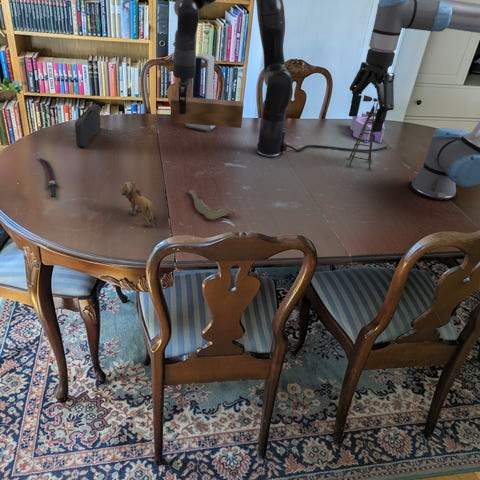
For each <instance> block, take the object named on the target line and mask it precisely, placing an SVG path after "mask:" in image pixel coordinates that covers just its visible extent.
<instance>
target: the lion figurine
mask: <svg viewBox="0 0 480 480" xmlns="http://www.w3.org/2000/svg"><path fill="white" fill-rule="evenodd" d="M119 193H120V194H121V196H122V197H124V196H125V198H126V199H127V200H128V202H129V203H130V207H131V211H130V212H129V213H130V215H135V214H136V211H137V212H141V214H142V216H143V218H144V219H145V223H144V225H145V227H149V226H150V221H152V223H153V225H155V226H159V222H156V221H155V219H154V217H153V216H154V215H153V204H152V202H151V200H150V199H148V198H146V197H145V196H144V195H143V194H142V192H141V190H140V187H138V185H136V184H135V183H133V182H132V181H125V182H124V186H122V188H121V189H119ZM136 207H137V208H136ZM148 214H149V216H148Z"/></svg>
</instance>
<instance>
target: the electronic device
mask: <svg viewBox="0 0 480 480" xmlns="http://www.w3.org/2000/svg"><path fill="white" fill-rule="evenodd" d="M215 57H216V56H214V55H212V54H210V53H200V54H196V67H195V77H194V78H192V79H191V97H194V98H205V99H214V98H213V92H214V76H215V75H214V74H215V60H216V59H215ZM202 61H204V62H205V72H204V91H203V92H204V93H203V95H201V85H202V84H201V82H202V81H201V78H202ZM184 125H185V126H186V128H189V129H193V130H197V131H203V132H208V133H209V132H211V131H212V130H213V129H214V128H216V126H210V125H198V124H186V123H184Z"/></svg>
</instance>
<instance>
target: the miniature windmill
mask: <svg viewBox="0 0 480 480" xmlns="http://www.w3.org/2000/svg"><path fill="white" fill-rule="evenodd" d="M372 101H373V105H372V106H371V109H370V111H368V110H367V111H365V113H366V115H367V116H368V117H367V118H366V122H365V124H364V126H363V128H362V129H361V133H360V135H359V137H358V138H356V142H355V144H354V145H353V148H352V149H353V150H352V151H350V152H351V153H350V154H349V157H348V159H349V160H350V161H349V164H348V167H351V165H352V163H353V160H354V159H357V160H364V161H367V162H368V170H371V165H372V163H371V162H372V161H373V159H372V152H373V151H372V149H373V137H374V135H373V132H372V128H373V124H374V119H375V117H376V113H377V109H378V108H379V102H378V96H377V98H376V97H372V96H369V95H365V94H364V95H363V97H362V102H368V103H369V102H372ZM375 103H376V104H375ZM370 118H372V120H371V119H370ZM369 120H370V121H372V122H368V121H369ZM368 123H372V128H371V130H368V129H366V126H367V124H368ZM365 130H367V131H371V134H370V133H364V131H365ZM361 134H362V135H361ZM363 134H369V135H370V137H369V140H363V139H361V138H362V136H363ZM360 136H361V137H360ZM361 141H363V142H364V141H368V142H369V145H368V144H364V143H363V144H362V143H361ZM359 146H362V147H363V146H364V147H369V148H368V149H369V151H357V149H359ZM356 153H361V154H368V157H367V158H364V157H358V156H356Z"/></svg>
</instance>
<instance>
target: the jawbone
mask: <svg viewBox="0 0 480 480" xmlns="http://www.w3.org/2000/svg"><path fill="white" fill-rule="evenodd" d="M188 192H189V195H191V196H192V199H193V204H194V208H195V210H196V211H197V212H198V213H200V214H201V215H203V216H204V217H205V219H207V220H209V221H213V220H217V219H219V218H222V217H227V218H231V215H232V212H234V213H237V212H239V210H238V209H237V208H234V207H223V208H222V209H216V210H215V209H211V207H209V206H207V205H206V204H205V203H204V199H201V198H200V199H199V198H198V195H197V193H196V191H195V190H194V189H189V190H188Z"/></svg>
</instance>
